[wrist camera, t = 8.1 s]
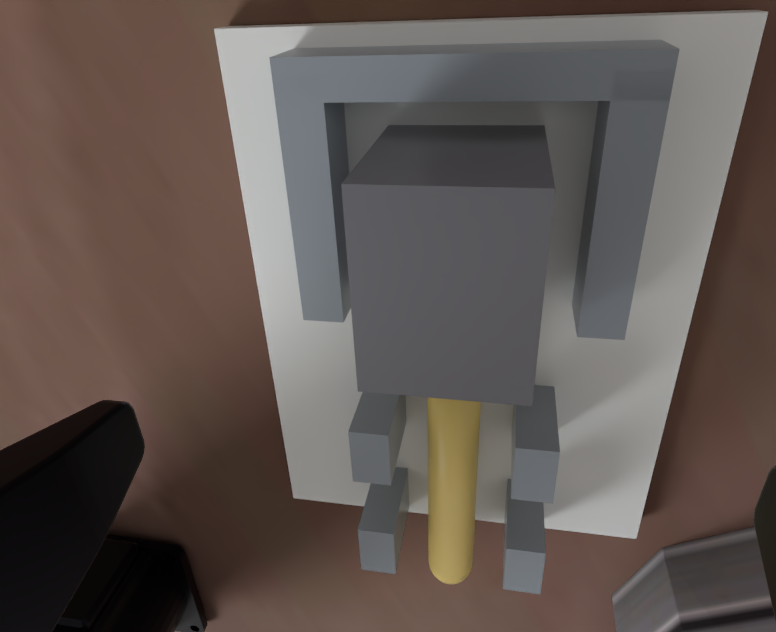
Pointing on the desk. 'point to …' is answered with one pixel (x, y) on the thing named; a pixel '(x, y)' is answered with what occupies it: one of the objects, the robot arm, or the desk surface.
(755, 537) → the can
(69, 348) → the desk surface
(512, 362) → the plug
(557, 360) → the board
